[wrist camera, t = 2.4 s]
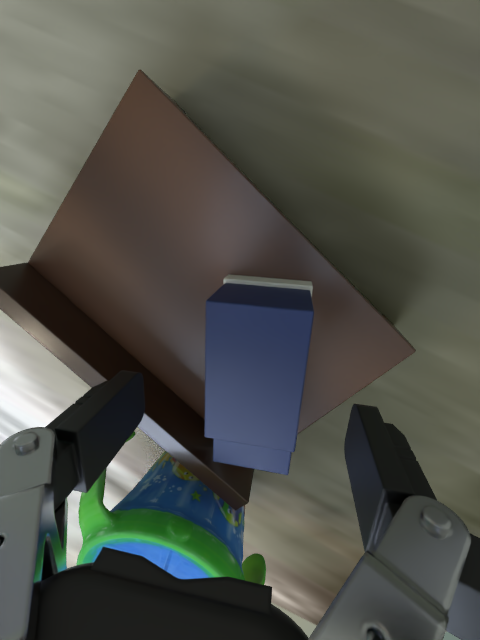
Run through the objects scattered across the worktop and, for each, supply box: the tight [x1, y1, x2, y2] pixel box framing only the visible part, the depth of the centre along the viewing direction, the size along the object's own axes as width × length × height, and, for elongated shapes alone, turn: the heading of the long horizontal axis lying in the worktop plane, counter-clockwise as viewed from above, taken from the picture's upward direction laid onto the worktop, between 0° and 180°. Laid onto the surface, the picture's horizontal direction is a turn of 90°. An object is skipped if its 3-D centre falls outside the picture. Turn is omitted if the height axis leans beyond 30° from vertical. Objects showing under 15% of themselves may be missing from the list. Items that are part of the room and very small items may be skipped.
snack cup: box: [77, 432, 266, 585], centre depth 22 cm, size 16×10×10 cm
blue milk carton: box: [204, 275, 314, 475], centre depth 16 cm, size 11×5×5 cm, turn 177°
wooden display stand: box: [0, 69, 416, 511], centre depth 18 cm, size 14×20×7 cm
